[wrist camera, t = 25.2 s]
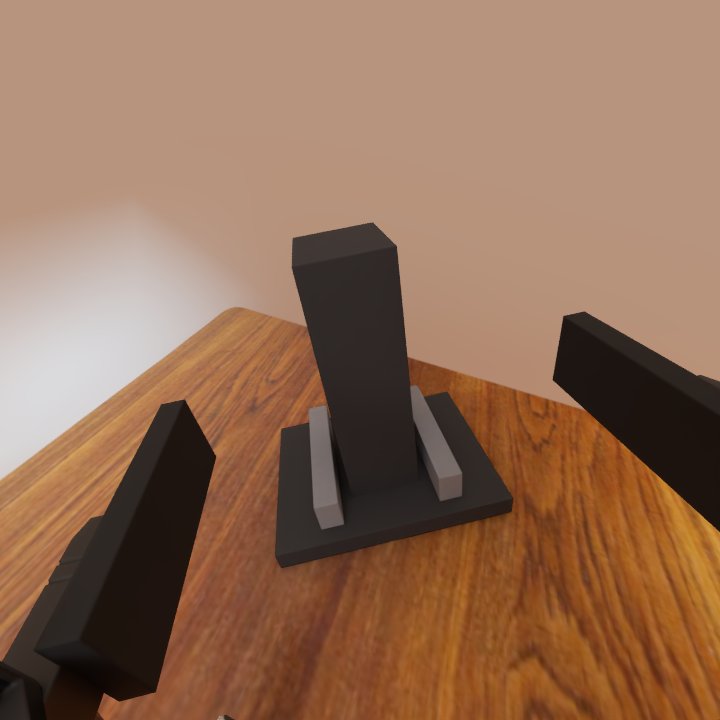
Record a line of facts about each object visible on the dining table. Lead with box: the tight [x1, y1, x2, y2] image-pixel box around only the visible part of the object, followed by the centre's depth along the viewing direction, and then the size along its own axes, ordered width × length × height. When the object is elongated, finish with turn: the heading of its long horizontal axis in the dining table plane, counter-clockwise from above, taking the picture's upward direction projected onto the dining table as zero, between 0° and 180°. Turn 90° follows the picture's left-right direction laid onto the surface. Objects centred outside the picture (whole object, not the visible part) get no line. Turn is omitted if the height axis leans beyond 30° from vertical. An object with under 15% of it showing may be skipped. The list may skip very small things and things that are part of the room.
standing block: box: [292, 223, 419, 496], centre depth 23 cm, size 5×6×17 cm
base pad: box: [275, 385, 513, 568], centre depth 28 cm, size 16×12×4 cm
